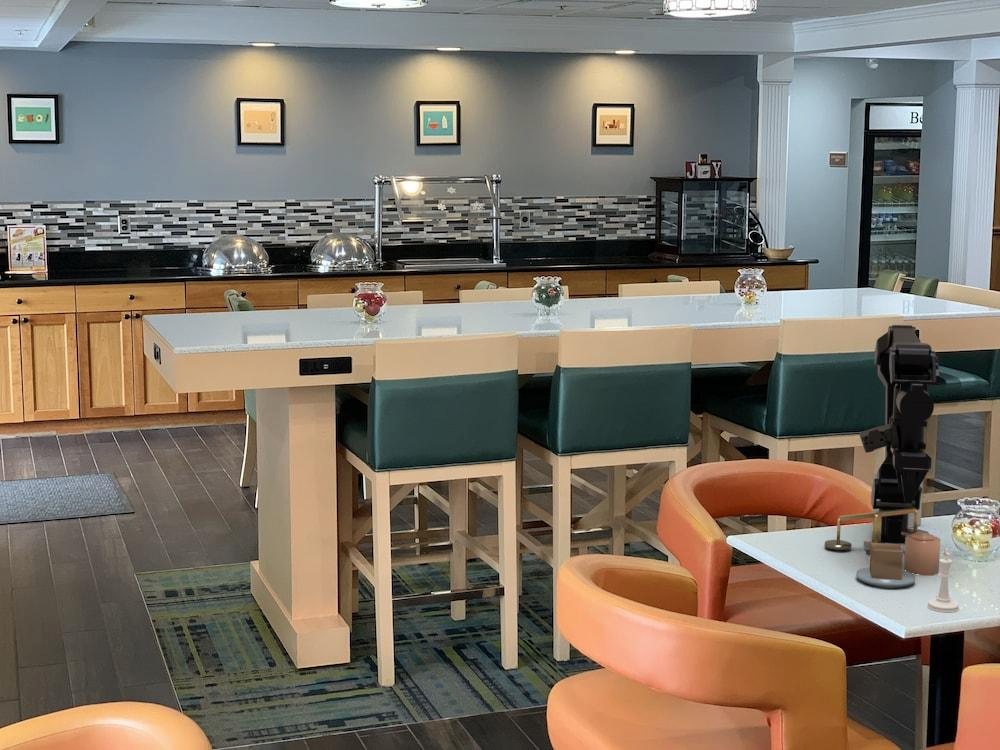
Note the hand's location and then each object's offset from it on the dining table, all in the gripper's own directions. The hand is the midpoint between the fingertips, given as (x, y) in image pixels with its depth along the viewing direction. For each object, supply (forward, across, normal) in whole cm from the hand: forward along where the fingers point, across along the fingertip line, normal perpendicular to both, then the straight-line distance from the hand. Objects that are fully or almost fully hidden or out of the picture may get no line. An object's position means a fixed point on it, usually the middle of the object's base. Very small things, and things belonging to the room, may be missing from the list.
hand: (904, 496), depth 237 cm
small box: (+13, -29, +2) cm, 32 cm away
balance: (+12, -7, -4) cm, 15 cm away
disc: (+12, +12, -4) cm, 18 cm away
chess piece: (+13, +25, +4) cm, 28 cm away
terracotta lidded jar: (+13, +4, +3) cm, 14 cm away
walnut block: (+11, +12, -4) cm, 17 cm away
